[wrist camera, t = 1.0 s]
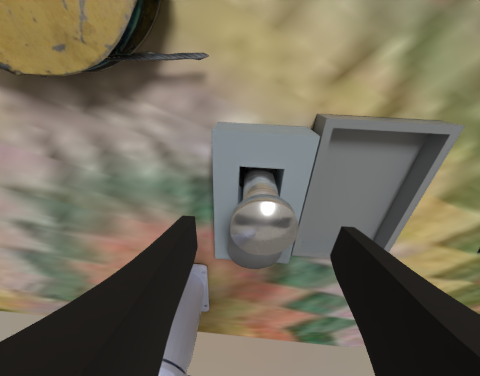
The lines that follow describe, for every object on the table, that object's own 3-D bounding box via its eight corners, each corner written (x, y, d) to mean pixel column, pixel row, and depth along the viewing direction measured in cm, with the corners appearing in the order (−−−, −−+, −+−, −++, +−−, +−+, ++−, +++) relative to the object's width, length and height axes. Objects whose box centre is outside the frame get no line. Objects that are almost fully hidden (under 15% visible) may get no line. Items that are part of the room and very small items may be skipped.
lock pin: (275, 190, 18) (292, 257, 11) (237, 187, 18) (229, 253, 11) (281, 152, 16) (305, 205, 9) (238, 150, 16) (230, 200, 9)
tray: (371, 246, 20) (383, 261, 19) (288, 240, 21) (291, 255, 19) (438, 120, 14) (465, 125, 12) (317, 113, 14) (326, 118, 13)
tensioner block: (283, 240, 21) (291, 277, 17) (219, 236, 21) (212, 271, 17) (307, 127, 15) (328, 142, 11) (218, 122, 15) (207, 135, 11)
